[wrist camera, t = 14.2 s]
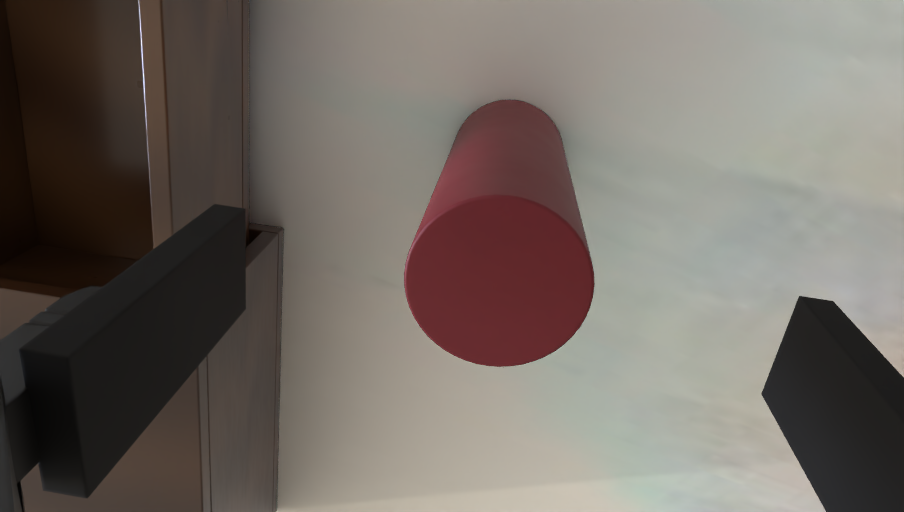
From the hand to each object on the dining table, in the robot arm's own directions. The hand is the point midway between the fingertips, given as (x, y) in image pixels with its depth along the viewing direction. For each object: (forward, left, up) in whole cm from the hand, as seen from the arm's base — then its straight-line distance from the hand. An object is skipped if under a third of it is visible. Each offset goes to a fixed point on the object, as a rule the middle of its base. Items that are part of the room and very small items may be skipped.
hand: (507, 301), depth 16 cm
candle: (0, 0, -16) cm, 16 cm away
